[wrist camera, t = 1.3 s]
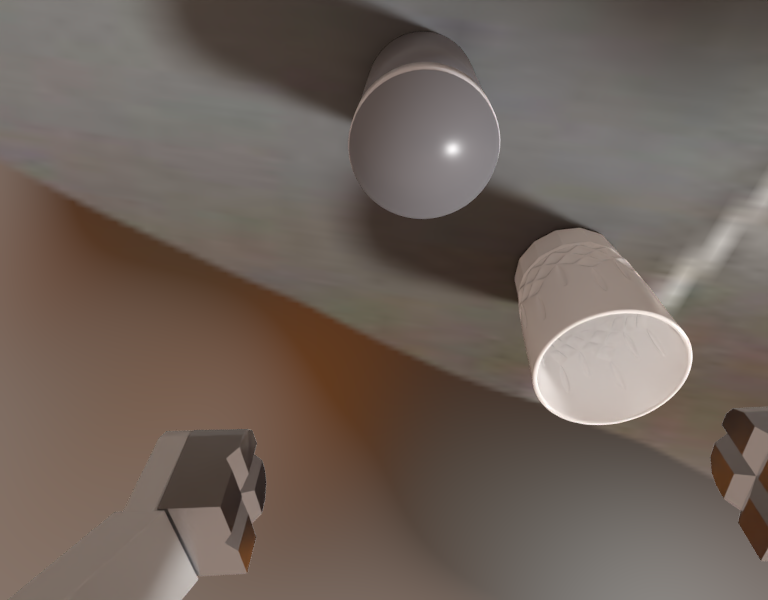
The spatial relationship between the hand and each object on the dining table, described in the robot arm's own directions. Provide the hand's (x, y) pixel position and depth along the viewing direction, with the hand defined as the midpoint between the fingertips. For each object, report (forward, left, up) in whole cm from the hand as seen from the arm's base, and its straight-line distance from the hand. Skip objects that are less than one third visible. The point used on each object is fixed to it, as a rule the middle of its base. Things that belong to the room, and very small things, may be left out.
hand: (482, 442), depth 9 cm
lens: (+1, -1, -25) cm, 25 cm away
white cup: (-7, +12, -25) cm, 29 cm away
